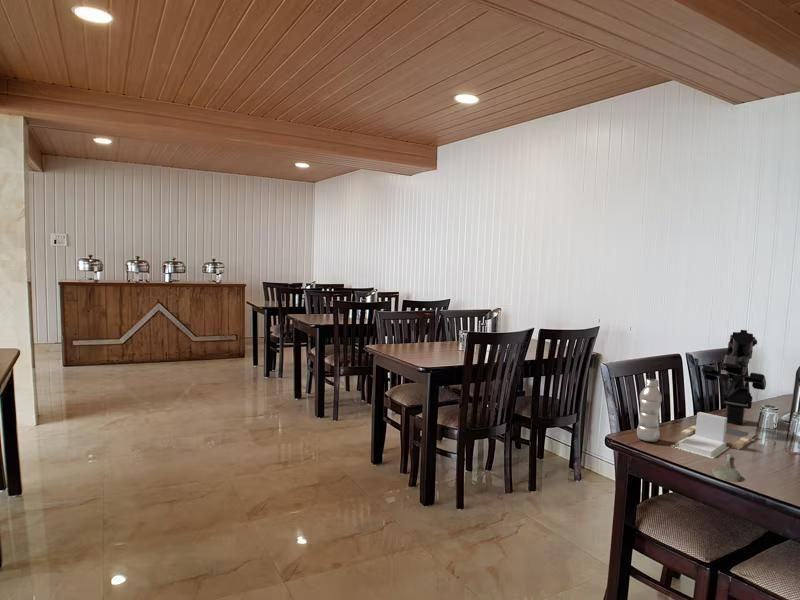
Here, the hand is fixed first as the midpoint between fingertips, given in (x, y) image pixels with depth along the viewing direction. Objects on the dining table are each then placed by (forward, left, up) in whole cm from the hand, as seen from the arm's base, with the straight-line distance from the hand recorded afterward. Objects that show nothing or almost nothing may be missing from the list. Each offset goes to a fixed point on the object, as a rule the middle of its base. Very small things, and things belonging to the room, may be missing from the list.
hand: (726, 395), depth 176 cm
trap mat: (-5, 0, -13) cm, 14 cm away
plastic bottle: (+31, -13, -14) cm, 36 cm away
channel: (+8, 0, -13) cm, 15 cm away
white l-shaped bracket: (+22, +1, -13) cm, 26 cm away
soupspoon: (+36, +11, -14) cm, 40 cm away
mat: (+23, 0, -13) cm, 27 cm away
